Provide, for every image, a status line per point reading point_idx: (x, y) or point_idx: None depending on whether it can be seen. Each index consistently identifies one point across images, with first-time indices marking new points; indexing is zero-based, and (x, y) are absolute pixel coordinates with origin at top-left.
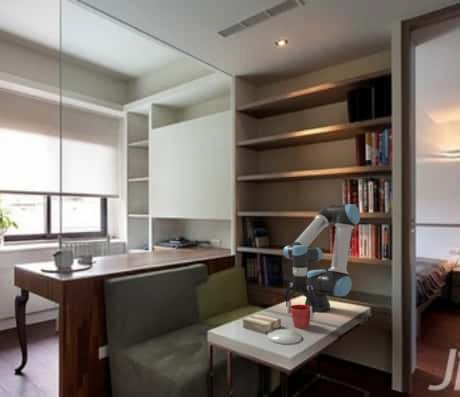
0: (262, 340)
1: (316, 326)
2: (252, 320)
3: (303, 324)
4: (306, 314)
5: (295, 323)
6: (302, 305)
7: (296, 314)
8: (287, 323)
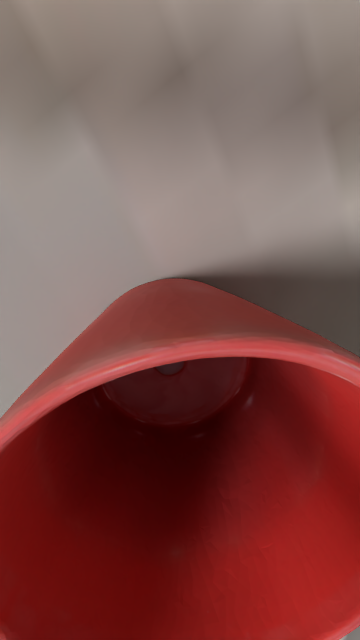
0: None
1: (320, 275)
2: None
3: (238, 435)
4: (326, 527)
5: (150, 456)
6: (132, 369)
7: (189, 584)
8: (9, 378)
